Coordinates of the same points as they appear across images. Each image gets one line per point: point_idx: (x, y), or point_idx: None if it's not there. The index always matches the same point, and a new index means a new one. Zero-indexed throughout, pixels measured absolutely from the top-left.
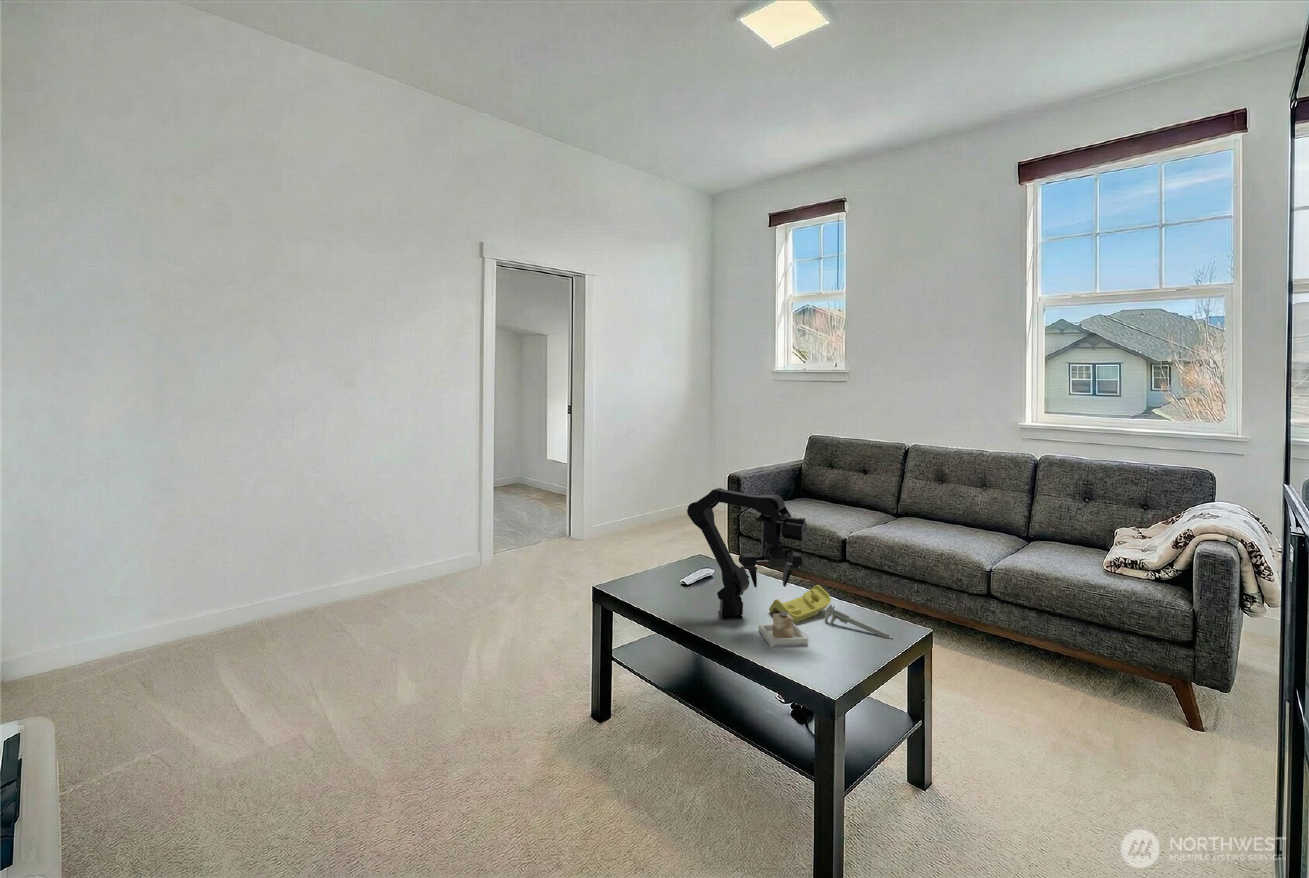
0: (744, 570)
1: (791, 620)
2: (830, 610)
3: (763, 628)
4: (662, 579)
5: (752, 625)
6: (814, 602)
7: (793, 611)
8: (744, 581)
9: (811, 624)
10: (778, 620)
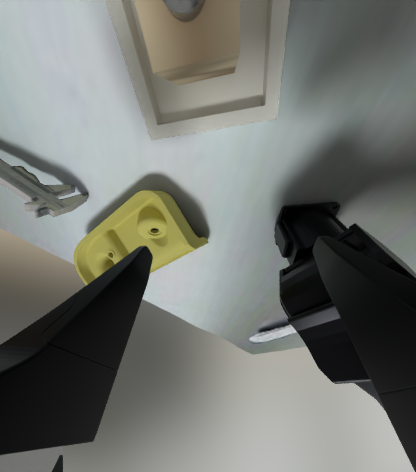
0: (319, 356)
1: None
2: (48, 202)
3: (275, 66)
4: None
5: (271, 167)
6: (107, 252)
7: (153, 219)
8: (325, 298)
9: (116, 181)
10: None
